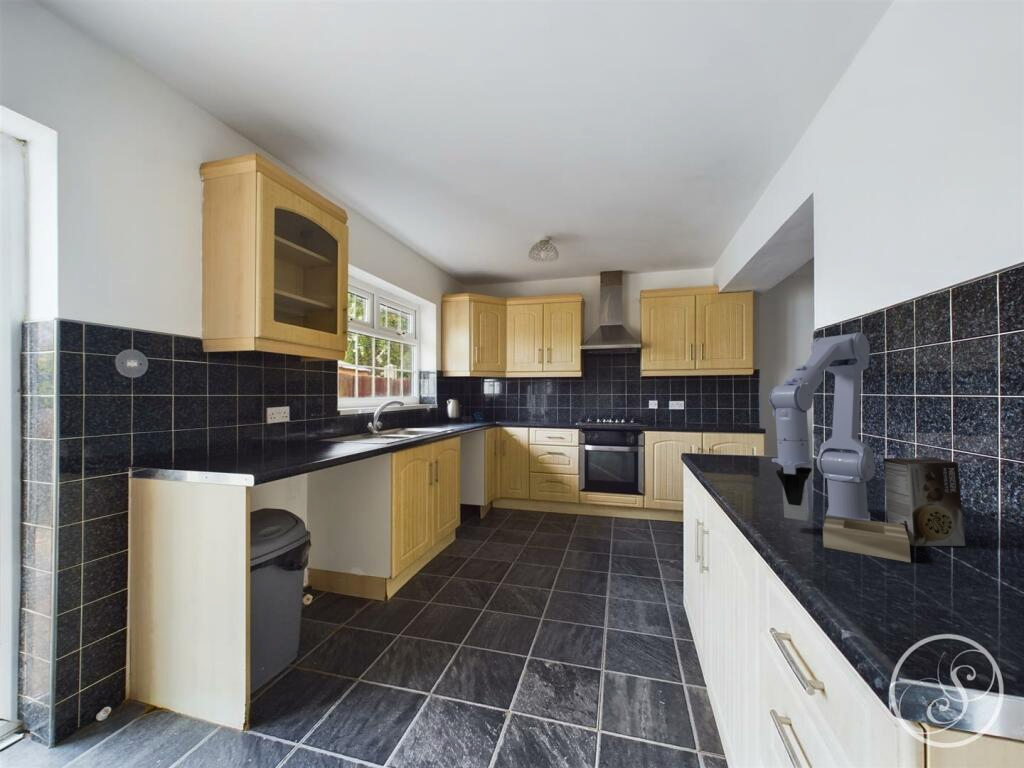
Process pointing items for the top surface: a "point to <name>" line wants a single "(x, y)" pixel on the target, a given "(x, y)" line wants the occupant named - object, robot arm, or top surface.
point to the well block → (866, 537)
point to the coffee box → (925, 500)
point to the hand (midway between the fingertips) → (796, 502)
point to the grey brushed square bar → (794, 510)
